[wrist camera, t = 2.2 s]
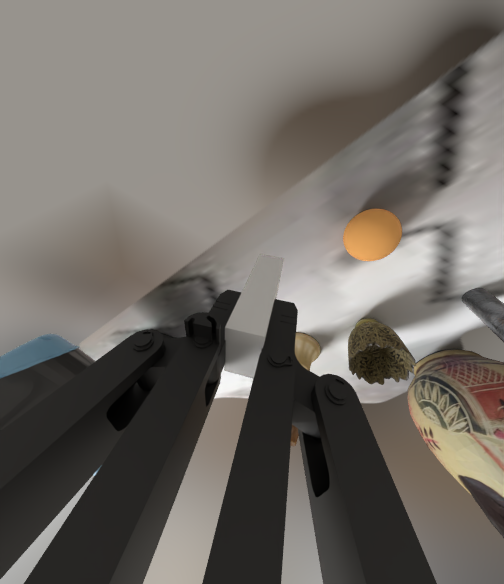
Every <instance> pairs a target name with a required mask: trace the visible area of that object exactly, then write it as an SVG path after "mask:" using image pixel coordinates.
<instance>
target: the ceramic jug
mask: <svg viewBox="0 0 504 584" xmlns="http://www.w3.org/2000/svg"><path fill="white" fill-rule="evenodd" d="M413 368H414V374H415V377H414V379H413V381H412V382H411V384H410V386H409V388H408V404H409V410H410V414H411V417H412V418H413V420H414V423H415V425H416V427H417V428H418V430H419V433H420V434H421V436H422V438H423V439H424V440H425V442H426V444H427V446H428V447H429V449H430V450H431V451H432V452H433V453H434V454H435V456H436V457H437V459H438V460H439V461H440V462H441V463H442V464H443V465H444V467H445V468H446V469H447V470H448V471H449V472H450V473H451V475H452V476H453V477H454V478H455V479H456V480H457V481H458V482H459V483H460V484H461V485H462V486H463V487H464V488H465V489H466V490H467V491H468V492H469V493H470V494H471V495H472V496H473V498H474V499H475V501H476V502H477V503H478V505H479V506H480V507H481V509H482V510H483V512H484V513H485V514H486V516H487V517H488V519H489V520H490V522H491V523H492V524H493V525H494V527H495V528H496V529H497V530H498V531H499V532H500V534H501V535H502V536H503V538H504V363H503V362H500V361H496V360H492V359H488V358H484V357H482V356H480V355H479V354H477V353H474V352H472V351H465V350H444V351H440V352H437V353H434V354H432V355H429V356H427V357H425V358H424V359H422V360H421V361H419V362H418V363H416V366H414V367H413Z"/></svg>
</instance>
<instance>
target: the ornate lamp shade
mask: <svg viewBox="0 0 504 584" xmlns="http://www.w3.org/2000/svg"><path fill="white" fill-rule="evenodd" d="M348 357H349V370H350V371H352V374H353V375H354V374H355V373H356V375H357V377H358V379H359V380H360V379H361V377H362V378H364V380H365V381H367V382H368V383H369V384H373V383H376V382H378V383H379V384H381V385H383V384H384V378H385V379H390V378H391V377H392V378H393V379H395V381H396V382H399V380H400V378H401V379H403V380H407V379H408V378H409V371H410V372H412V373H414V368H413V366H412V365H414V366H416V363H415V359H414V358H413V356H412V355H411V353H410V352H409V350H408V349H407V348H406V346H405V345H404V343H403V342H402V340H401V339H400V338H399V336H398V335H397V334H396V333H395V332H394V331H393V330H392V329H391V328H389V327H388V326H386V325H384V324H381V323H379V322H378V321H377V320H375V319H372V318H365V319H361V320H360V321H358V322H357V324H356V326H355V328H354V329H353V331H352V332H351V334H350V336H349V340H348Z"/></svg>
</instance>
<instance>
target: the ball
mask: <svg viewBox="0 0 504 584" xmlns="http://www.w3.org/2000/svg"><path fill="white" fill-rule="evenodd" d="M401 236H402V227H401V224H400V221H399V219H398V218H397V217H396V216H395V215H394V214H393V213H391V212H389V211H387V210H384V209H369V210H366V211H363V212H361V213H359V214H358V215H356V216H355V217H354V218H352V220H351V221H350V222H349V223H348V225H347V226H346V228H345V231H344V236H343V241H344V245H345V248H346V250H347V251H348V253H349V254H350V255H352V256H353V257H355V258H356V259H359V260H363V261H375V260H379V259H382V258H384V257H386V256H387V255H389V254H390V253H391V252H393V251H394V250H395V248H396V247H397V246H398V244H399V242H400V240H401Z"/></svg>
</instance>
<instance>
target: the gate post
mask: <svg viewBox="0 0 504 584" xmlns="http://www.w3.org/2000/svg"><path fill="white" fill-rule="evenodd" d="M462 302H463V303H464V304H465V305H466V306H467V307H468V308H469V309H470V310H471V311H472V312H473V313H474V314H475V315H476V316H477V317H478V318H480V319H481V320H482V321H483V322H484V323H485V324H486V325H487V326H488V327H489V328H490V329H491V330H492V331H493V332H494V333H495V334H496V335H497V336H498V337H499V338H500V339H501V340H502V341H503V342H504V303H502V302H501V301H500V300H499V299H497V298H496V297H495V296H493V295H492V294H491V293H490V292H488V291H487V290H485V289H482V288H478V289H473V290H470V291H468V292H466V293H465V294H464V295H463V297H462Z"/></svg>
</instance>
